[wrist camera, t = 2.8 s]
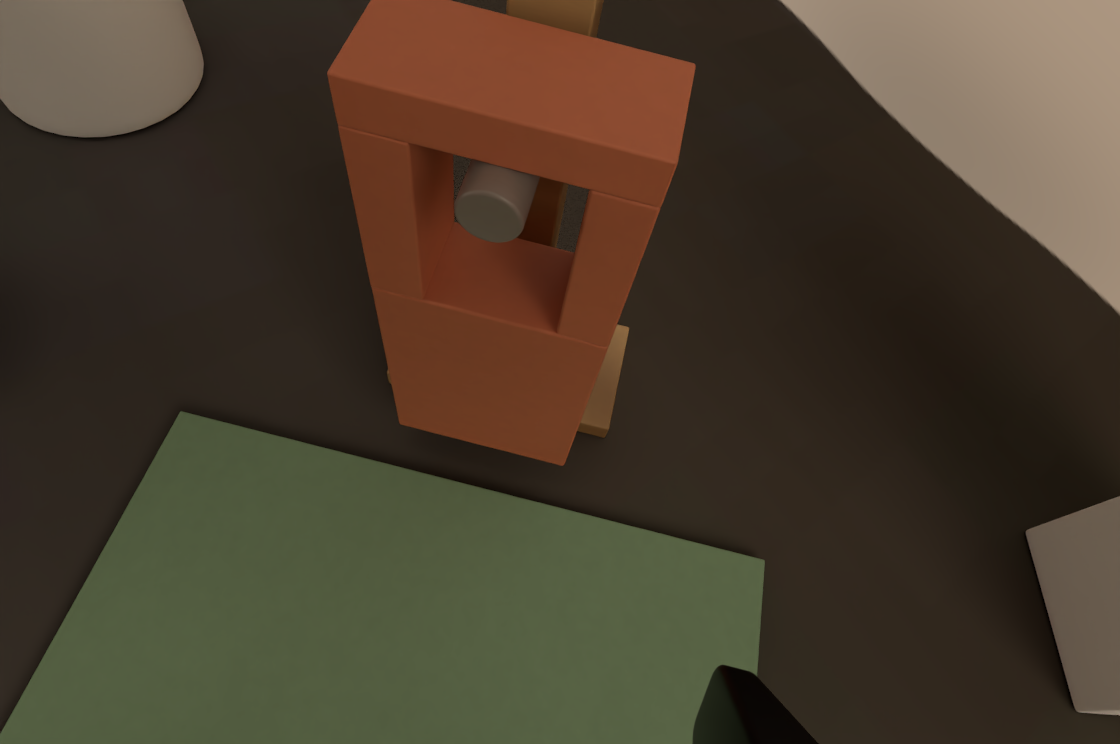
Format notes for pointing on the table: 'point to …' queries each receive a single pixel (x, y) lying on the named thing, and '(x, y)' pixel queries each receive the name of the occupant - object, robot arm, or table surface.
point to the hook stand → (539, 202)
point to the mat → (378, 612)
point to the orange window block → (518, 265)
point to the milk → (1084, 600)
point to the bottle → (97, 63)
